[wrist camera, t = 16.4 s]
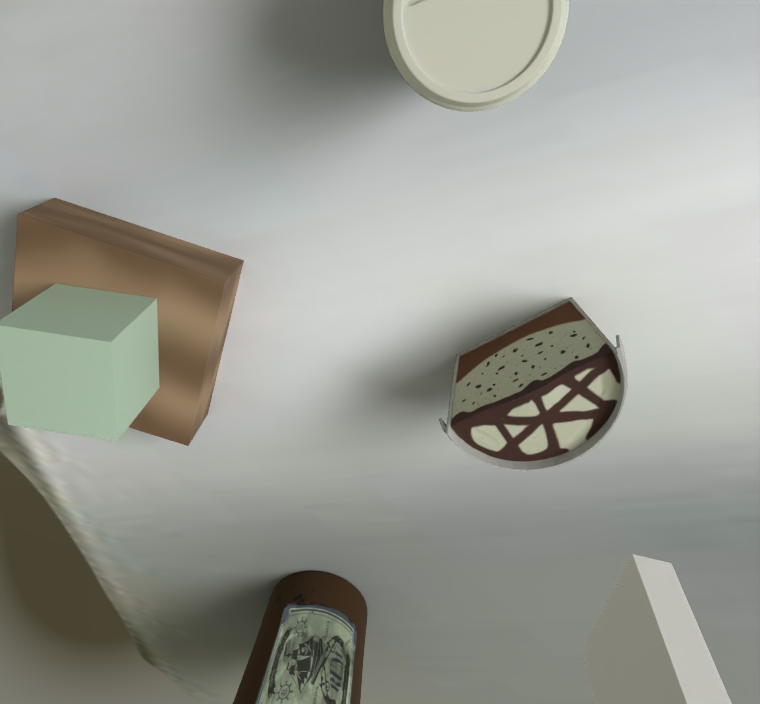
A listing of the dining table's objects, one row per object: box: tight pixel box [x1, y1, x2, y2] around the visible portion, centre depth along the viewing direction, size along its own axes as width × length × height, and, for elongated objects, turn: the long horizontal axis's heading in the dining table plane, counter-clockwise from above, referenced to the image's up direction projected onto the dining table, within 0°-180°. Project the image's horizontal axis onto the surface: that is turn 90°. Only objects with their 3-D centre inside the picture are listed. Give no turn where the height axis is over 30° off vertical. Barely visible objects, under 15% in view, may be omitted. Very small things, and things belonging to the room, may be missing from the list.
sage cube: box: [0, 284, 159, 441], centre depth 43 cm, size 7×7×7 cm
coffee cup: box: [383, 0, 569, 112], centre depth 34 cm, size 8×9×12 cm
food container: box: [439, 297, 627, 471], centre depth 44 cm, size 12×6×10 cm, turn 122°
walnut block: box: [12, 198, 244, 446], centre depth 48 cm, size 14×14×5 cm
